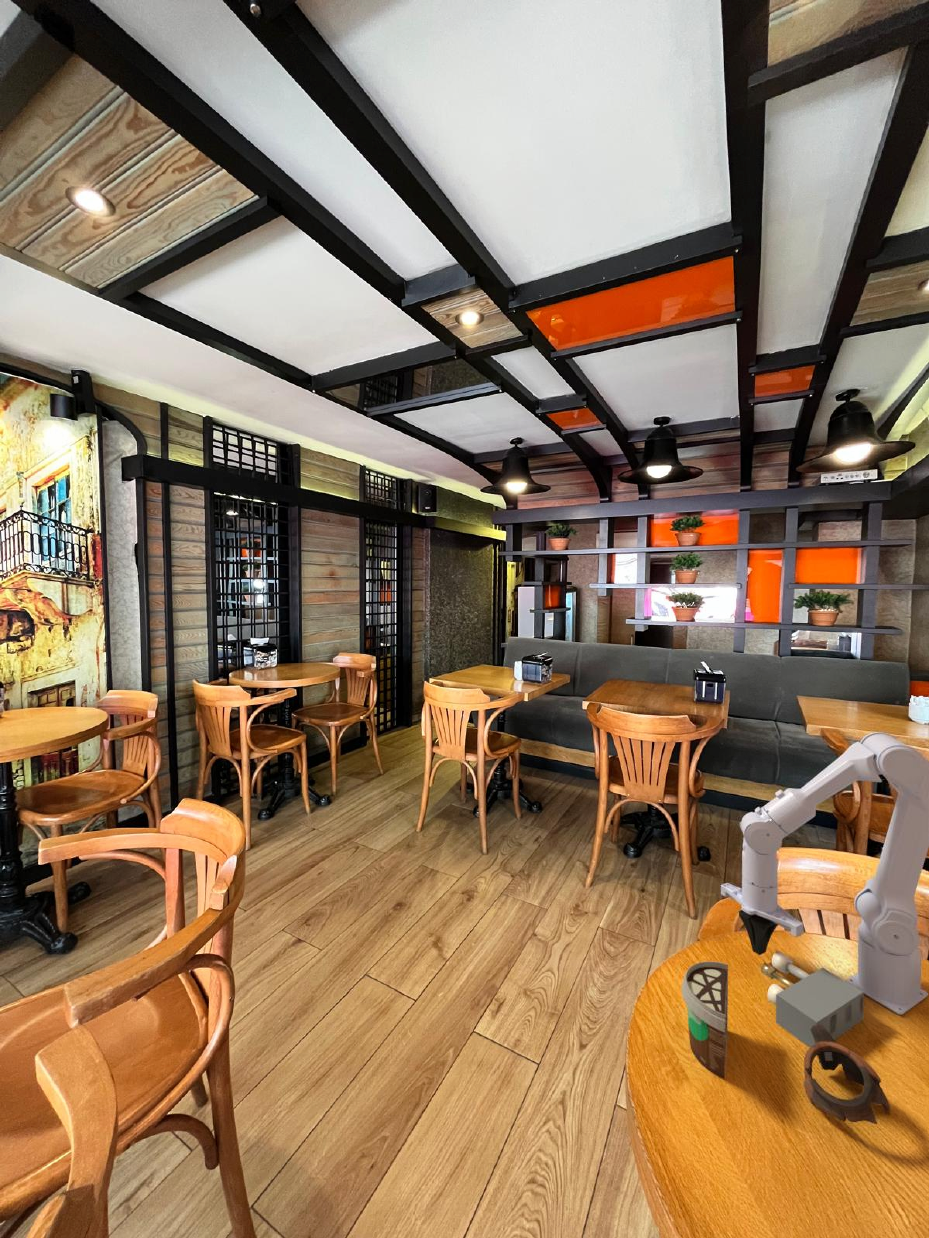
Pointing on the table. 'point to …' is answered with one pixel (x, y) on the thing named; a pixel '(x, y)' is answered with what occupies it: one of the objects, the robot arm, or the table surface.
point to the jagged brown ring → (853, 1071)
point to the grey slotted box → (819, 1006)
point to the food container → (708, 1013)
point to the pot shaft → (774, 974)
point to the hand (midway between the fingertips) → (759, 951)
